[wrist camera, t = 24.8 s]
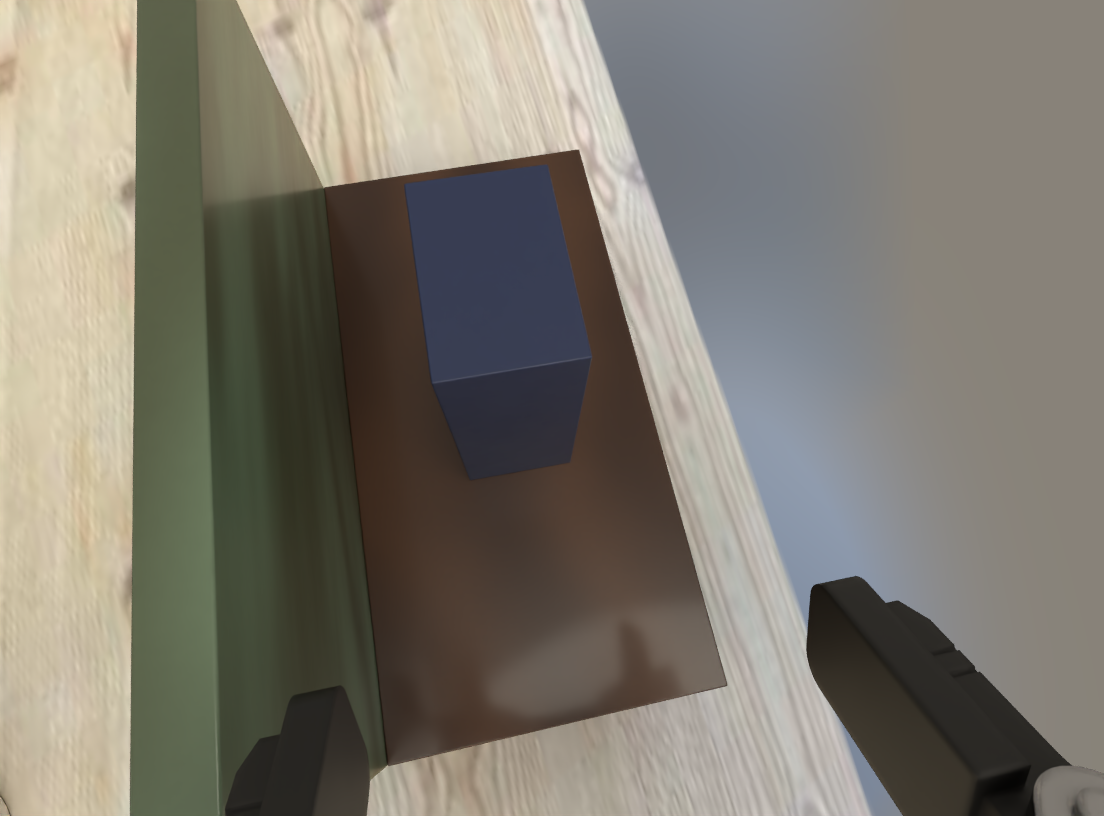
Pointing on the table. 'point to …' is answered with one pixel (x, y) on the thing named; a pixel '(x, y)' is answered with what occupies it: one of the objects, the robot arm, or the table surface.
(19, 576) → the table surface
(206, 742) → the shelf
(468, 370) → the navy block
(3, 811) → the character figurine
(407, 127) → the table surface
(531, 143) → the table surface
